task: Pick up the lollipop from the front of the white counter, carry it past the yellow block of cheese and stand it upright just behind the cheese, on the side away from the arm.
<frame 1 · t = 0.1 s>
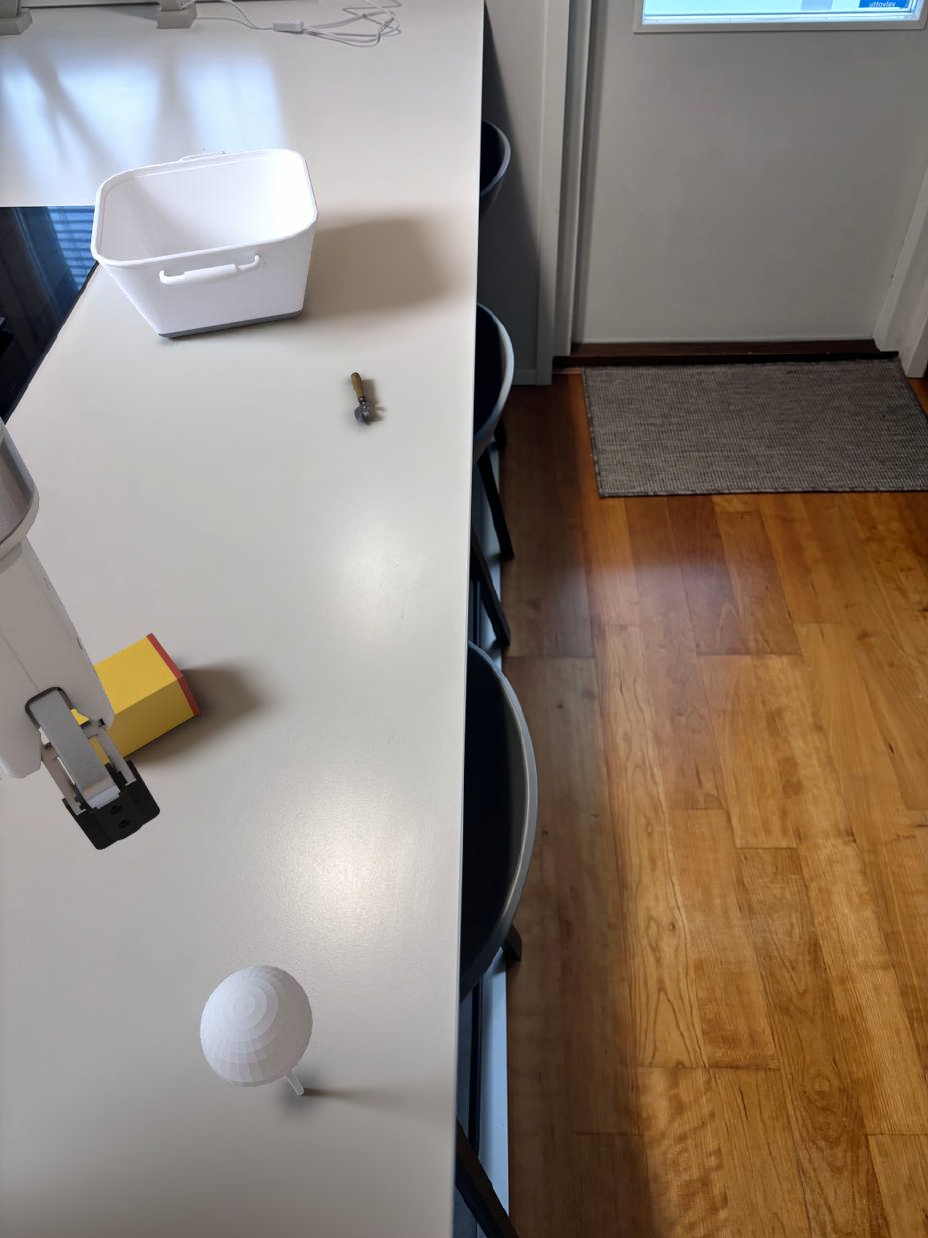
hand: (88, 760, 47), 25 cm above the counter, tool pointing down, fingers open, 9 cm apart
can opener: (360, 402, 108), on the counter
tub: (229, 297, 126), on the counter
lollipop: (301, 1092, 60), on the counter
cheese: (136, 718, 80), on the counter
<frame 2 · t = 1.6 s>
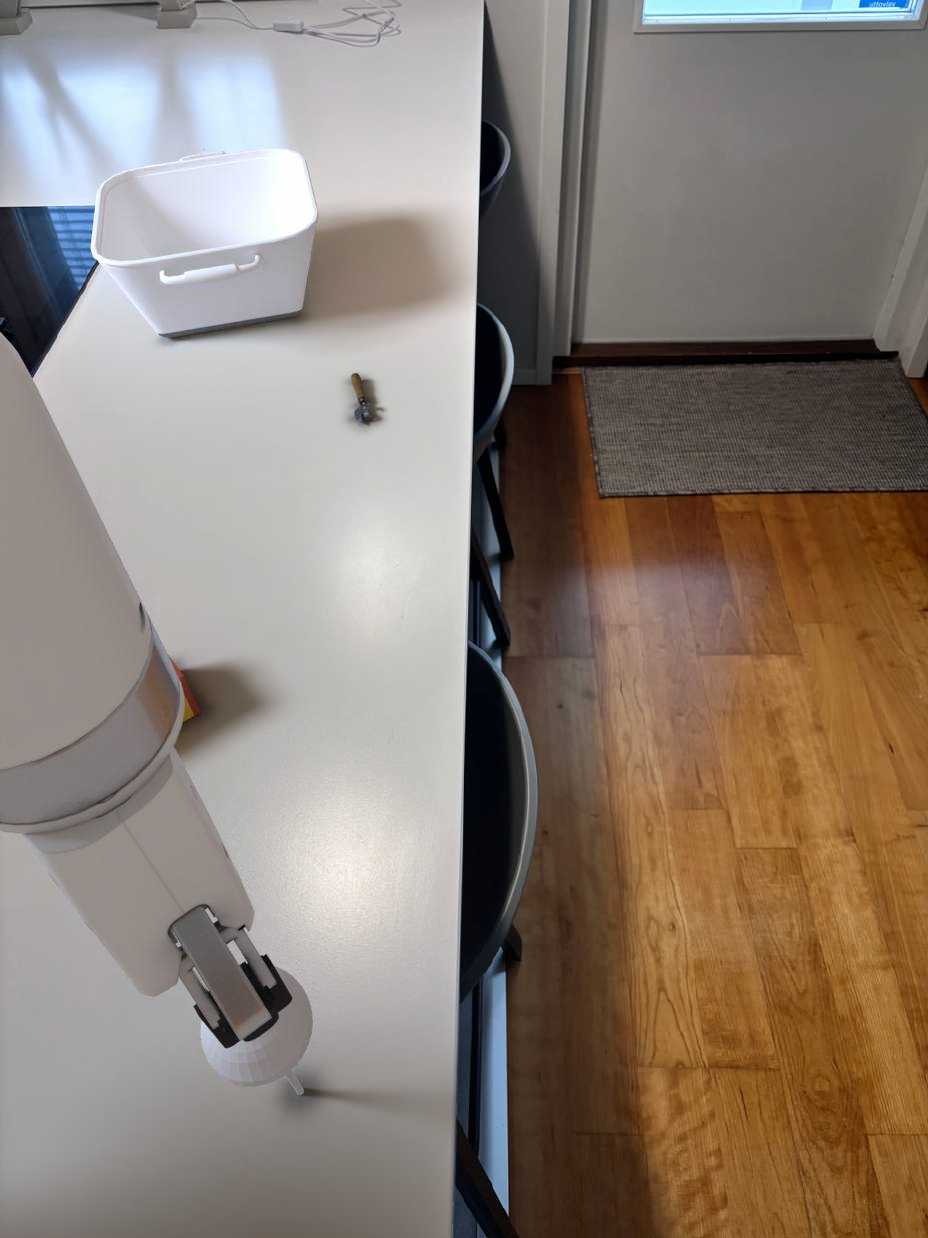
hand: (204, 931, 42), 24 cm above the counter, tool pointing down, fingers open, 9 cm apart
nothing on the counter moved.
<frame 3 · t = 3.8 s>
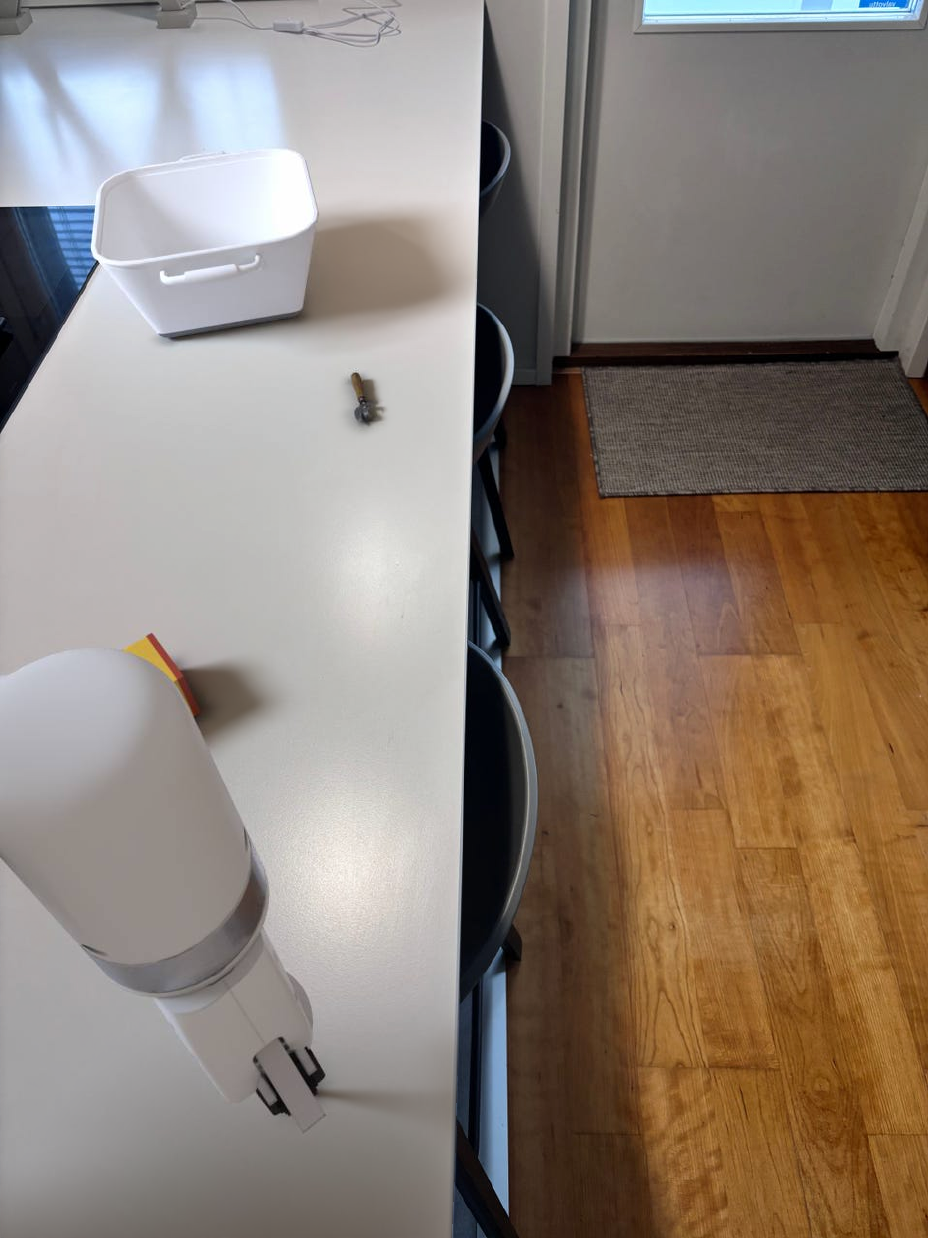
hand: (265, 1038, 52), 10 cm above the counter, tool pointing down, fingers closed on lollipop, 6 cm apart
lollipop: (301, 1092, 60), on the counter, touching gripper
everything else where it was.
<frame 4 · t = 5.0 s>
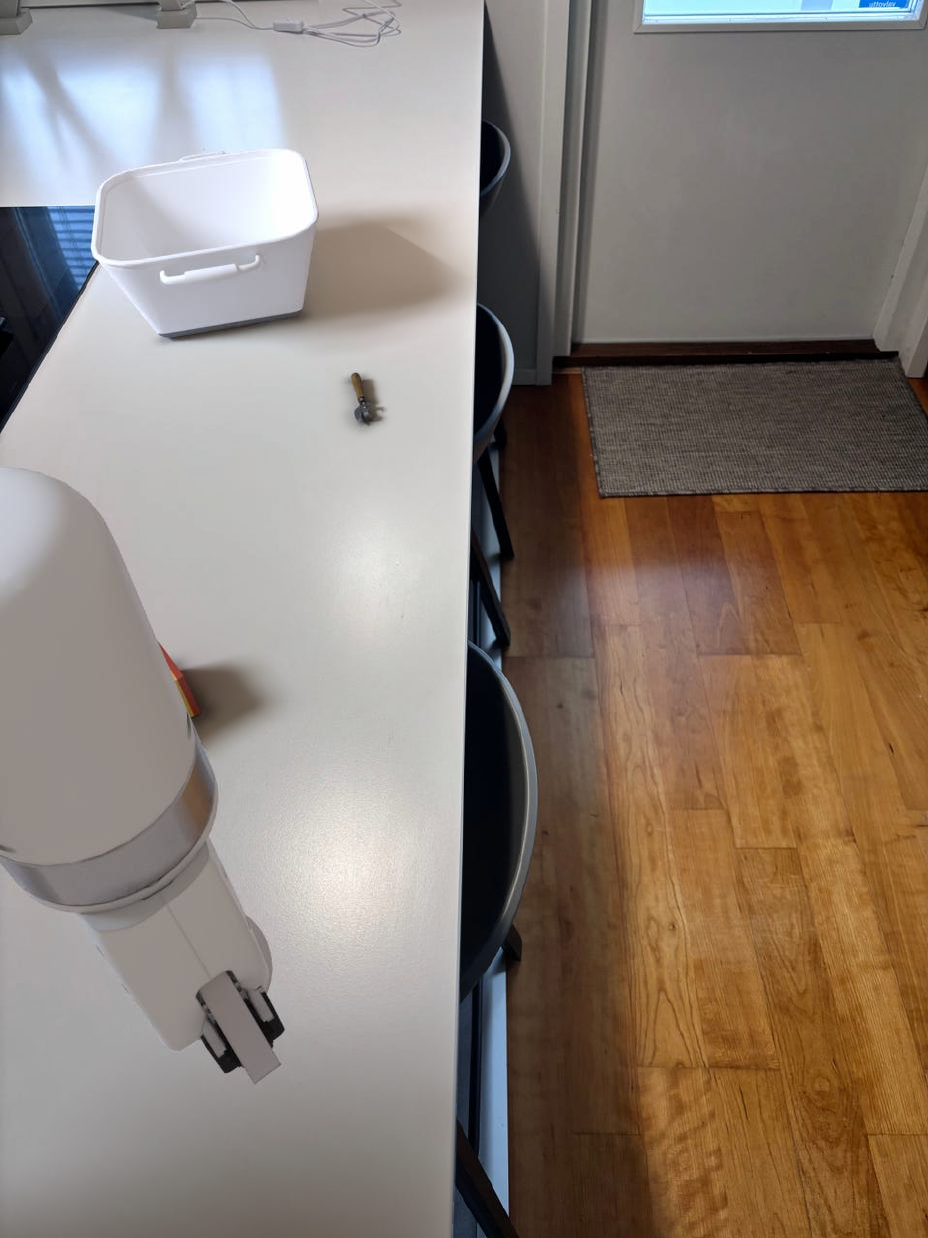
hand: (218, 988, 46), 18 cm above the counter, tool pointing down, fingers closed on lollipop, 6 cm apart
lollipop: (260, 1057, 54), point 8 cm above the counter, touching gripper
everything else where it was.
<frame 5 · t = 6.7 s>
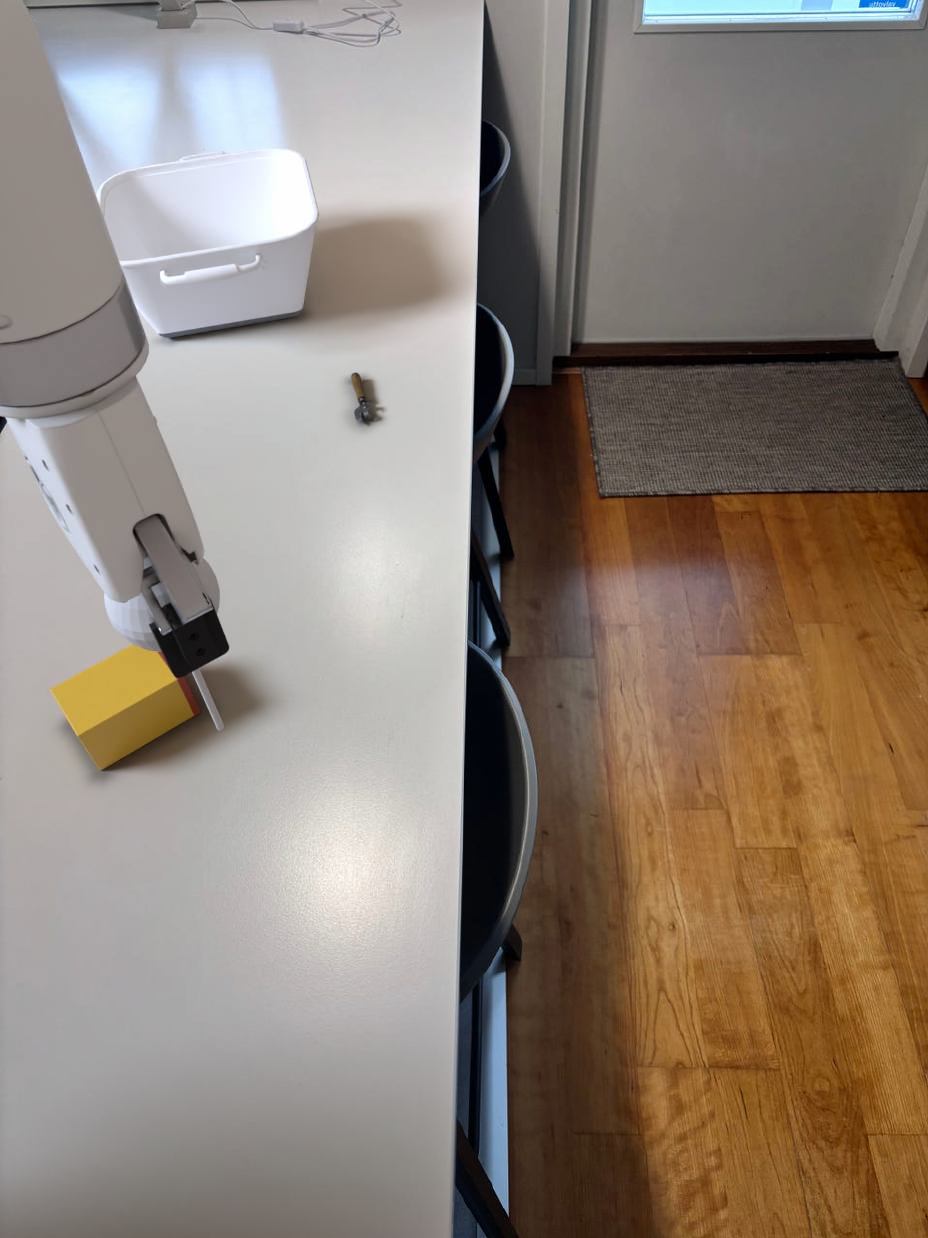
hand: (173, 622, 52), 26 cm above the counter, tool pointing down, fingers closed on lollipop, 6 cm apart
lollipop: (221, 729, 60), point 15 cm above the counter, touching gripper
everything else where it was.
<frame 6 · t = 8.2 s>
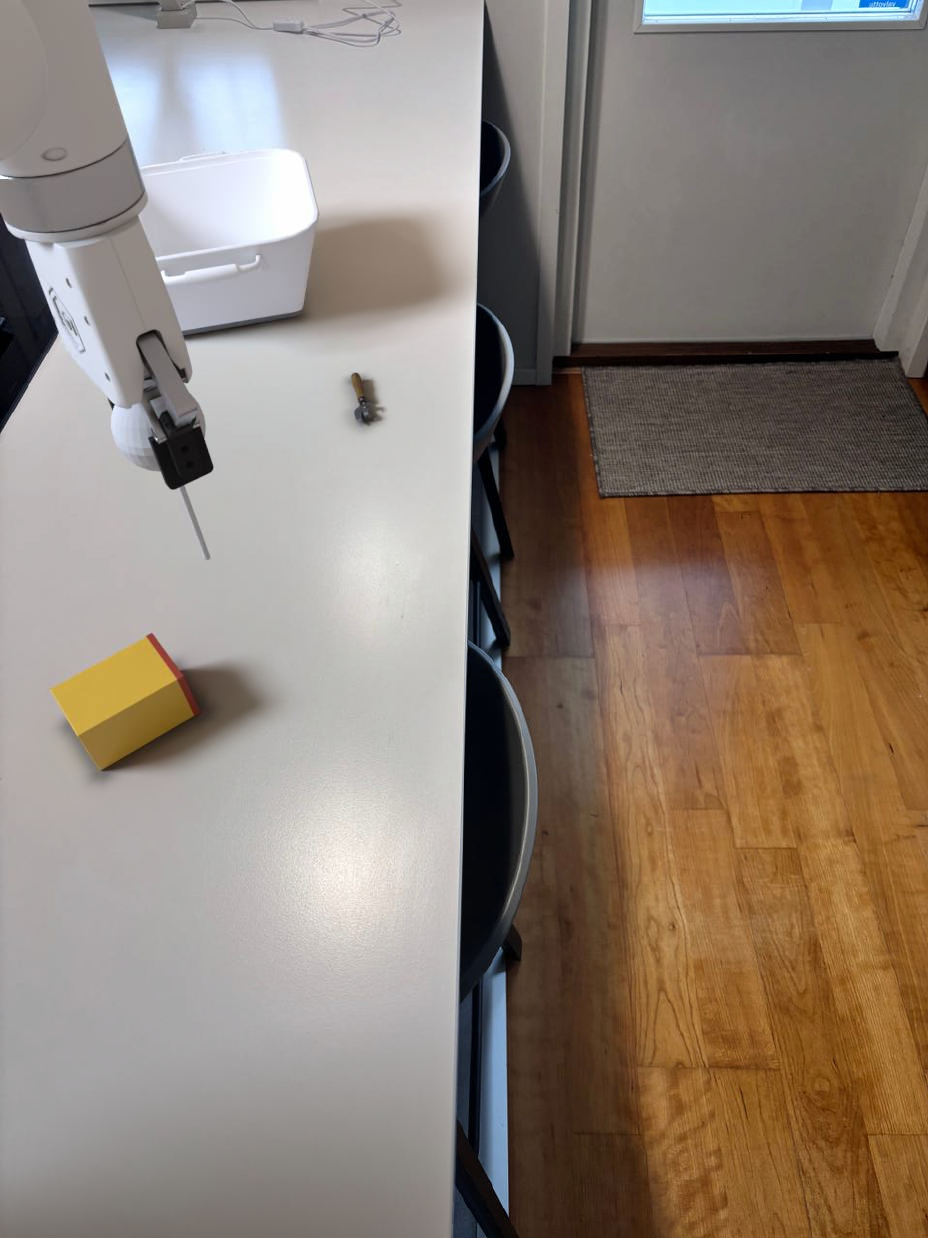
hand: (167, 451, 63), 25 cm above the counter, tool pointing down, fingers closed on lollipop, 6 cm apart
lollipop: (208, 559, 71), point 15 cm above the counter, touching gripper
everything else where it was.
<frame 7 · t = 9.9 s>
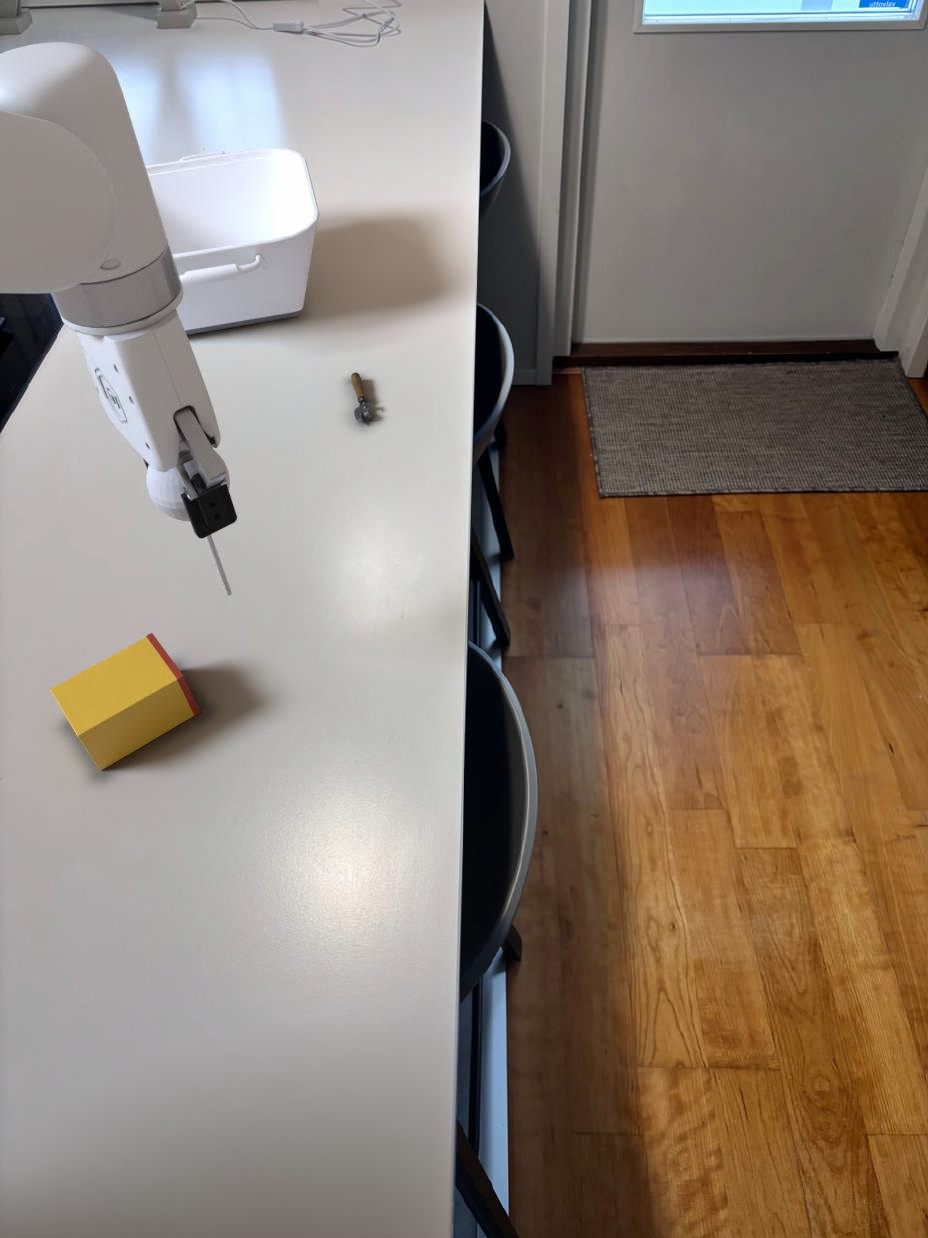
hand: (195, 502, 71), 18 cm above the counter, tool pointing down, fingers closed on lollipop, 6 cm apart
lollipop: (229, 595, 79), point 8 cm above the counter, touching gripper
everything else where it was.
when the fingers open (10 cm above the counter, at t = 12.2 s): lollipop stays where it is, on the counter.
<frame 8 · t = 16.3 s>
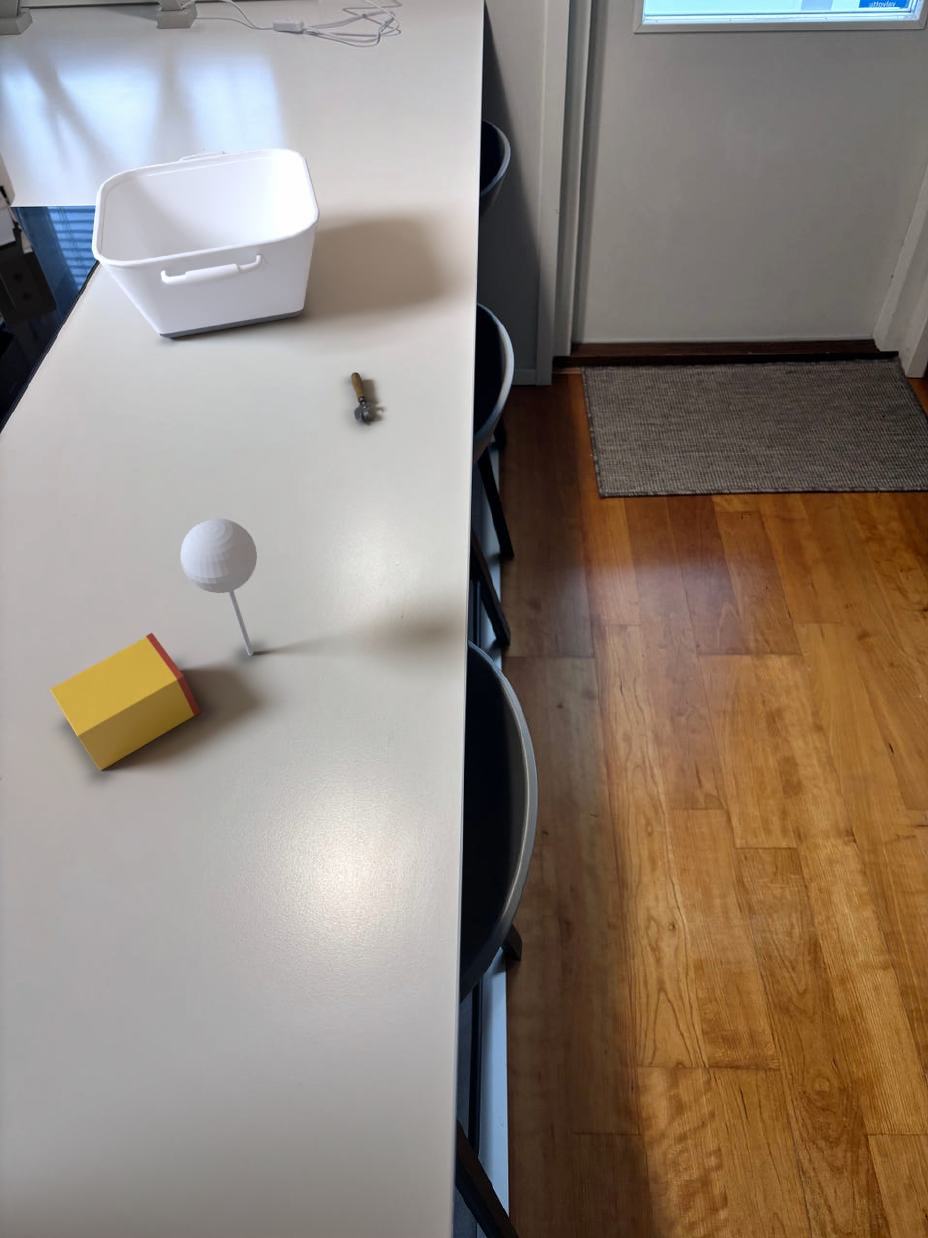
hand: (5, 287, 61), 34 cm above the counter, tool pointing down, fingers open, 9 cm apart
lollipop: (251, 655, 84), on the counter
everything else where it was.
at the end: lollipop inside the target area on the counter beside the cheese (0.1 cm from its centre), on the counter; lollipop tilted 2°; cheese moved 0.0 cm from its start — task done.
